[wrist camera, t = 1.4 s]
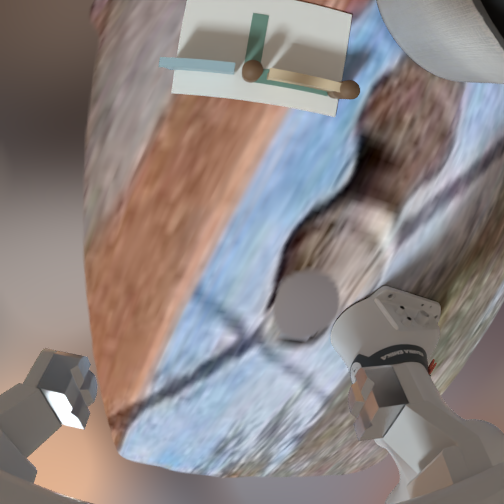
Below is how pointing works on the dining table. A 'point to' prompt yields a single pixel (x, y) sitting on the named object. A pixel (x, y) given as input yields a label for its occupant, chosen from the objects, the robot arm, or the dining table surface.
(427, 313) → the robot arm
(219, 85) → the card
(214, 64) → the light blue rectangular panel
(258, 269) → the dining table surface
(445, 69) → the planter
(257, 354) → the dining table surface
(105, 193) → the dining table surface
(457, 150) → the dining table surface
